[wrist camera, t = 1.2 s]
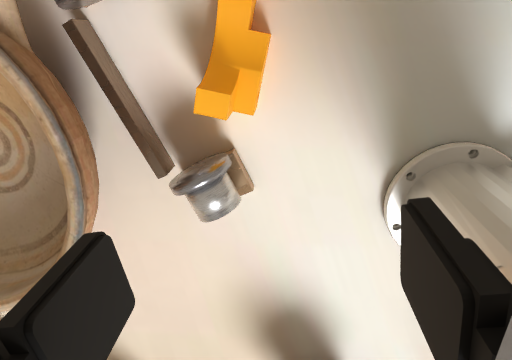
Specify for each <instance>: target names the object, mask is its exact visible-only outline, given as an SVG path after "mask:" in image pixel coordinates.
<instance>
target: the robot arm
mask: <svg viewBox="0 0 512 360" xmlns="http://www.w3.org/2000/svg"><path fill="white" fill-rule="evenodd" d="M470 151H471V152H470ZM469 152H470V153H469ZM410 172H411V173H410ZM408 173H410V174H409V175H407V174H408ZM383 208H384V218H385V222H386V225H387V228H388V229H389V231H390V233H391V235H392V237H393V238H394V240H395V241H396V242H397V243H398V245H400V246H401V272H400V276H401V283H402V287H403V290H404V292H405V294H406V296H407V299H408V301H409V303H410V305H411V307H412V310H413V312H414V314H415V316H416V319H417V321H418V323H419V325H420V327H421V330H422V332H423V334H424V336H425V339H426V341H427V343H428V345H429V347H430V350H431V352H432V354H433V356H434V359H435V360H512V160H511V159H510V158H508V157H507V156H506V155H504V154H503V153H501V152H499V151H498V150H496V149H494V148H491V147H489V146H486V145H483V144H478V143H471V142H457V143H450V144H445V145H440V146H437V147H435V148H432V149H429V150H427V151H425V152H423V153H421V154H420V155H418V156H416V157H414V158H413V159H412V160H411V161H409V162H408V163H407V164H406V165H404V166H403V168H402V169H401V170H400V171H399V172H398V173H397V174H396V175H395V177H394V179H393V180H392V182H391V184H390V185H389V187H388V190H387V193H386V196H385V201H384V207H383ZM395 223H396V224H395ZM134 305H135V298H134V295H133V292H132V289H131V287H130V284H129V282H128V279H127V277H126V274H125V272H124V269H123V267H122V264H121V262H120V259H119V256H118V254H117V251H116V249H115V246H114V244H113V241H112V239H111V237H110V236H108V235H106V234H105V233H104V232H93V233H85V234H83V235H82V236H81V237H80V238H79V239H78V240H77V241H76V242H75V243H74V245H73V246H72V247H71V248H70V249H69V250H68V251H67V252H66V253H65V254H64V255H63V256H62V257H61V258H60V259H59V260H58V261H57V262H56V263H55V264H54V265H53V266H52V267H51V268H50V270H49V271H48V272H47V273H46V274H45V275H44V276H43V277H42V278H41V279H40V280H39V281H38V282H37V283H36V284H35V285H34V286H33V287H32V288H31V289H30V290H29V291H28V292H27V294H26V295H25V296H24V297H23V298H22V299H21V300H20V301H19V302H18V303H17V304H16V305H15V306H14V307H13V308H12V309H11V310H10V311H9V312H8V313H7V314H6V315H5V316H4V317H3V319H2V320H1V321H0V360H106V359H107V357H108V356H109V354H110V352H111V350H112V348H113V346H114V344H115V342H116V341H117V339H118V337H119V335H120V333H121V331H122V329H123V327H124V326H125V324H126V322H127V320H128V318H129V316H130V314H131V312H132V310H133V308H134Z"/></svg>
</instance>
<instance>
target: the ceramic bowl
mask: <svg viewBox="0 0 512 360" xmlns="http://www.w3.org/2000/svg"><path fill="white" fill-rule="evenodd" d="M98 195H99V179H98V172H97V165H96V158H95V154H94V151H93V148H92V145H91V141H90V138H89V135H88V132H87V129H86V127H85V125H84V123H83V121H82V119H81V117H80V115H79V113H78V111H77V109H76V107H75V105H74V103H73V102H72V100H71V99H70V97H69V96H68V94H67V93H66V91H65V90H64V89H63V87H62V86H61V84H60V83H59V81H58V80H57V78H56V77H55V76H54V75H53V74H52V73H51V72H50V70H49V69H48V68H47V67H46V66H45V65H44V64H43V63H42V62H41V60H40V59H39V58H38V57H37V56H36V55H35V54H34V53H33V51H32V49H31V46H30V44H29V41H28V38H27V36H26V33H25V30H24V27H23V23H22V20H21V17H20V13H19V10H18V6H17V3H16V0H0V312H4V311H9V310H11V309H12V308H13V307H14V306H15V305H16V304H17V303H18V302H19V301H20V300H21V299H22V298H23V297H24V296H25V295H26V294H27V292H28V291H29V290H30V289H31V288H32V287H33V286H34V285H35V284H36V283H37V282H38V281H39V280H40V279H41V278H42V277H43V276H44V275H45V274H46V273H47V272H48V271H49V270H50V268H51V267H52V266H53V265H54V264H55V263H56V262H57V261H58V260H59V259H60V258H61V257H62V256H63V255H64V254H65V253H66V252H67V251H68V250H69V249H70V248H71V247H72V246H73V245H74V243H75V242H76V241H77V240H78V239H79V238H80V237H81V236H82V235H83V234H85V233H91V232H92V228H93V224H94V220H95V217H96V213H97V208H98Z"/></svg>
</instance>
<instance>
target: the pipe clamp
mask: <svg viewBox="0 0 512 360" xmlns="http://www.w3.org/2000/svg"><path fill="white" fill-rule="evenodd" d="M255 5H256V0H218V10H217V21H216V29H215V36H214V42H213V47H212V52H211V56H210V60H209V63H208V67H207V70H206V73H205V75H204V78H203V80H202V82H201V83H200V85H199V86H198V87H197V88H196V96H195V104H194V112H193V113H195V114H200V115H204V116H209V117H213V118H218V119H222V120H227V119H228V117H229V116H230V115H231V113H232V112H233V111H234V112H239V113H244V114H248V115H254V112H255V110H256V108H257V103H258V98H259V93H260V88H261V83H262V77H263V72H264V67H265V62H266V57H267V52H268V47H269V42H270V37H271V34H268V33H264V32H259V31H255V30H251V27H252V22H253V16H254V10H255Z"/></svg>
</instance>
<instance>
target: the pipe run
mask: <svg viewBox="0 0 512 360" xmlns="http://www.w3.org/2000/svg"><path fill="white" fill-rule="evenodd" d="M54 1H55V2H56V4H57V5H58V7H60V8H62V9H77V8H82V7H88V6H90V5H92V4H95V3H97V2H99V1H102V0H54ZM62 26H63V27H64V29H65V30H66V32H67V34H68V35H69V37H70V38H71V40H72V42H73V43H74V45H75V46H76V48H77V50H78V51H79V53H80V54H81V56H82V58H83V59H84V61H85V62H86V64H87V66H88V67H89V69H90V71H91V72H92V74H93V75H94V77H95V79H96V80H97V82H98V83H99V85H100V87H101V88H102V90H103V91H104V93H105V95H106V96H107V98H108V99H109V101H110V103H111V104H112V106H113V107H114V109H115V111H116V112H117V114H118V115H119V117H120V119H121V120H122V122H123V123H124V125H125V127H126V128H127V130H128V131H129V133H130V135H131V136H132V138H133V139H134V141H135V143H136V144H137V146H138V148H139V149H140V151H141V152H142V154H143V156H144V157H145V159H146V160H147V162H148V164H149V165H150V167H151V168H152V170H153V172H154V173H155V175H156V176H157V178H158V179H159V178H162V177H164V176H166V175H167V174H168V173H169V172H170V171H171V170H172V168H173V167H174V166H175V165H174V163H173V162H172V160H171V158H170V157H169V155H168V153H167V152H166V150H165V148H164V147H163V145H162V143H161V142H160V140H159V138H158V137H157V135H156V133H155V132H154V130H153V128H152V126H151V125H150V123H149V121H148V120H147V118H146V116H145V115H144V113H143V111H142V110H141V108H140V106H139V105H138V103H137V101H136V100H135V98H134V96H133V95H132V93H131V91H130V90H129V88H128V86H127V84H126V83H125V81H124V79H123V78H122V76H121V74H120V73H119V71H118V69H117V68H116V66H115V64H114V63H113V61H112V59H111V58H110V56H109V54H108V53H107V51H106V49H105V48H104V46H103V44H102V43H101V41H100V39H99V37H98V36H97V34H96V32H95V31H94V29H93V27H92V26H91V24H90V22H89V21H88V20H81V19H71V20H69V21H68V22H66V23H64V24H63V25H62ZM169 187H170V189H171V190H172V192H173V194H174V195H184V194H185V196H186V198H187V199H188V201H189V203H190V204H191V206H192V208H193V209H194V211H195V213H196V214H197V216H198V217H199V219H200V221H202V222H210V221H214V220H216V219H219V218H221V217H223V216H225V215H226V214H228V213H229V212H231V211H232V210H233V209H234V208H235V207H236V206H237V205H238V204H239V203H240V201H241V197H240V196H241V195H244V194H246V193H249V192H251V191H253V189H254V185H253V183H252V181H251V179H250V177H249V175H248V173H247V171H246V169H245V167H244V165H243V163H242V161H241V160H240V158H239V156H238V154H237V152H236V150H235V148H234V149H232V150H230V151H228V152H225V153H220V154H216V155H213V156H210V157H208V158H205V159H203V160H201V161H199V162H197V163H195V164H193V165H192V166H190V167H188V168H187V169H185V170H184V171H182V172H181V173H180V174H178V175H177V176H176V177H175V178H174V179H173V180H172V181H171V182H170V184H169Z"/></svg>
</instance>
